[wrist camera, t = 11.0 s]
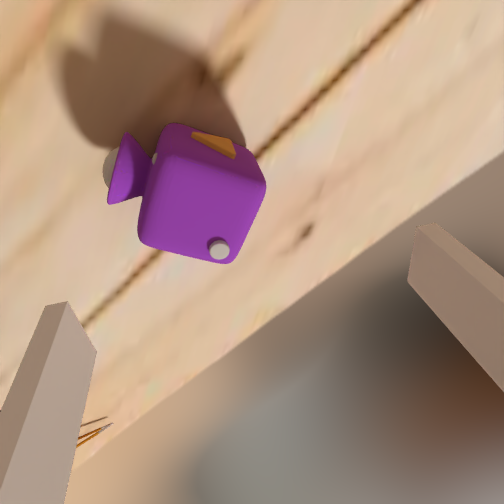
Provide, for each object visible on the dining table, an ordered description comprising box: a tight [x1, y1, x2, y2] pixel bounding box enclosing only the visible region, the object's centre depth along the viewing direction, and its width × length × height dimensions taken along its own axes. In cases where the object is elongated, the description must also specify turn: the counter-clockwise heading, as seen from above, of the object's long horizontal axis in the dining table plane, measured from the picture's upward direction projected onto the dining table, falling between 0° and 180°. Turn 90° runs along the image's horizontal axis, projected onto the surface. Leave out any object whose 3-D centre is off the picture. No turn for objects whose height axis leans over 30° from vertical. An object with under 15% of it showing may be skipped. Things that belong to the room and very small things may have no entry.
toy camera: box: [103, 123, 266, 264], centre depth 33 cm, size 11×14×10 cm
